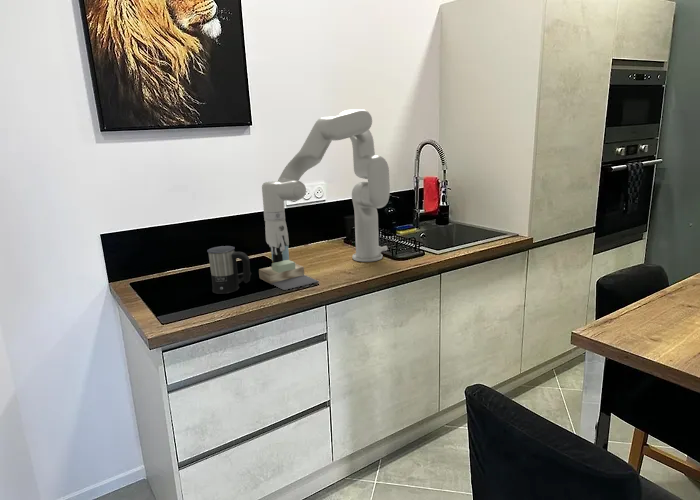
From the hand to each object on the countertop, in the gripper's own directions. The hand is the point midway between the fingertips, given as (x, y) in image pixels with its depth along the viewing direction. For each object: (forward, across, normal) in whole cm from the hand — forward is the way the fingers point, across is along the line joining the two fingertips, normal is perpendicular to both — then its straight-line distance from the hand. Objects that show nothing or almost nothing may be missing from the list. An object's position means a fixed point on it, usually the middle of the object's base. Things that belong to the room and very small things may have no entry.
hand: (278, 264), depth 180 cm
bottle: (+5, +16, -9) cm, 20 cm away
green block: (0, -4, 0) cm, 4 cm away
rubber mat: (+5, -12, 0) cm, 13 cm away
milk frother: (+5, +1, +18) cm, 19 cm away
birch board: (+5, -2, 0) cm, 5 cm away
